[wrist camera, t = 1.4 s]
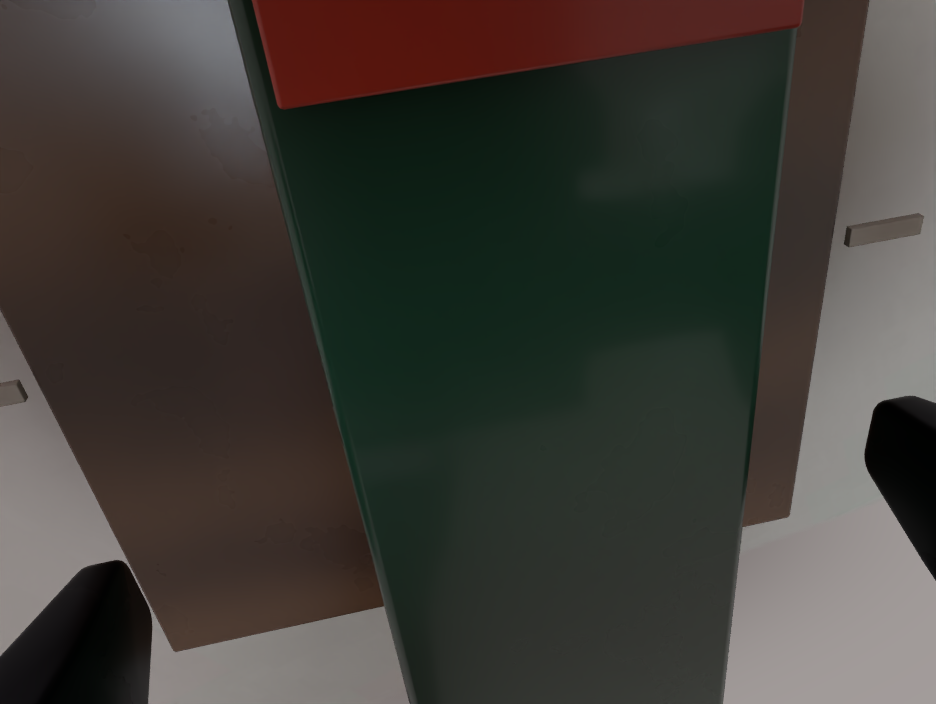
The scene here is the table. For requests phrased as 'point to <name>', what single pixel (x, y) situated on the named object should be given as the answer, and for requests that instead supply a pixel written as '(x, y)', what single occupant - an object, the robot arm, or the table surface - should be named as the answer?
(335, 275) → the book
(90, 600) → the robot arm
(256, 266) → the brown wooden square board
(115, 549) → the table surface
